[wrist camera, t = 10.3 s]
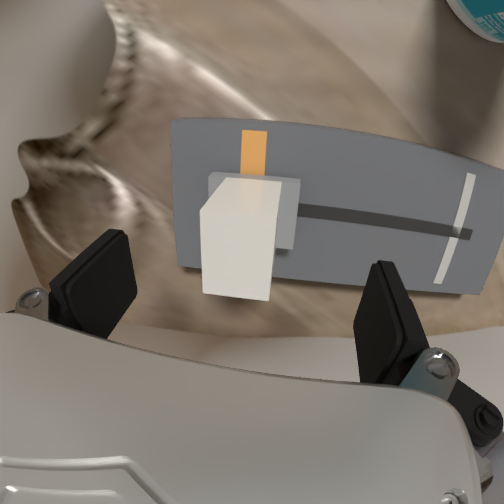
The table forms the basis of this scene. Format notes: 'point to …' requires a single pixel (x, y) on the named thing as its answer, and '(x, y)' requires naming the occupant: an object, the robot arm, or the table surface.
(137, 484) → the robot arm
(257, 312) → the table surface
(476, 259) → the fader console
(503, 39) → the pill bottle
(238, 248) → the fader knob
